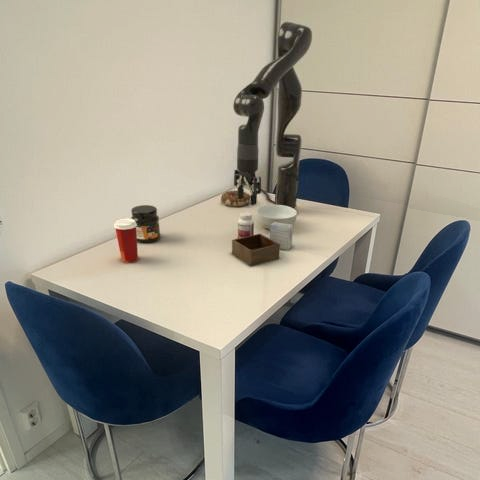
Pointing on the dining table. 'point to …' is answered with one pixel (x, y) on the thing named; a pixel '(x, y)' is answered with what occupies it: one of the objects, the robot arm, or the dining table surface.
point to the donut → (234, 198)
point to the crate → (255, 249)
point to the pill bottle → (245, 225)
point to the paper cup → (127, 239)
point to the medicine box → (282, 234)
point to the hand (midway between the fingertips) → (246, 201)
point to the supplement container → (146, 223)
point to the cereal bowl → (275, 215)
